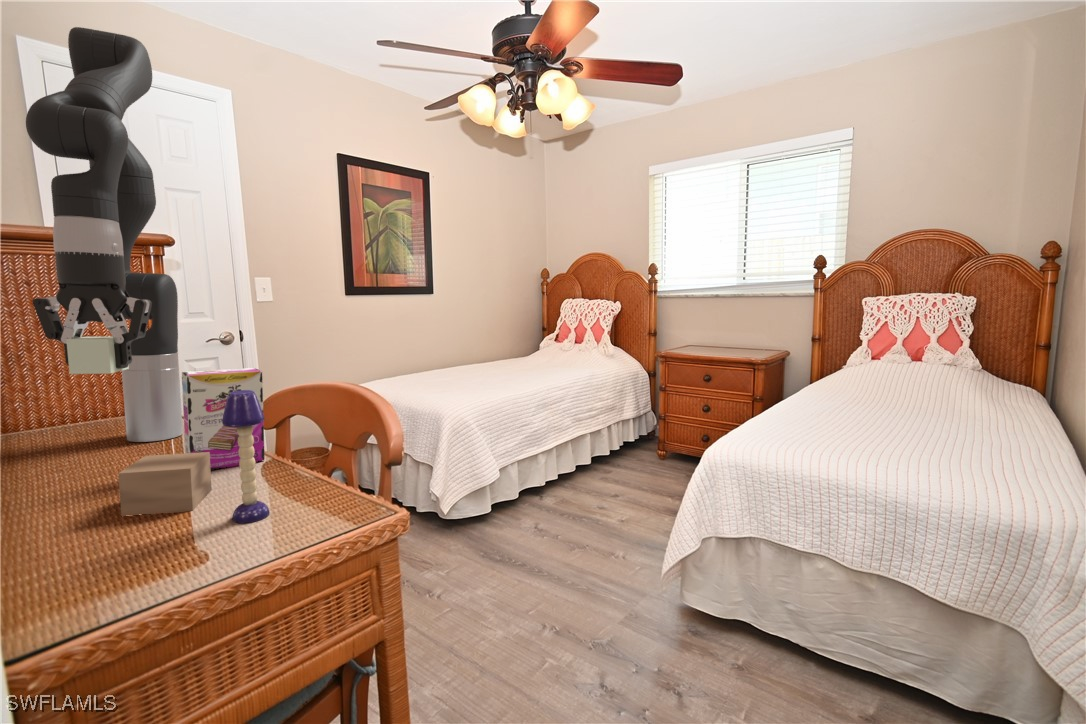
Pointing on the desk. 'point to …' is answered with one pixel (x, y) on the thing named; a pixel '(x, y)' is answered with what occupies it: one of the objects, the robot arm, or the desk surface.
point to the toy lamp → (246, 451)
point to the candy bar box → (218, 414)
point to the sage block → (92, 355)
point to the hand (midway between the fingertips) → (99, 367)
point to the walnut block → (165, 483)
